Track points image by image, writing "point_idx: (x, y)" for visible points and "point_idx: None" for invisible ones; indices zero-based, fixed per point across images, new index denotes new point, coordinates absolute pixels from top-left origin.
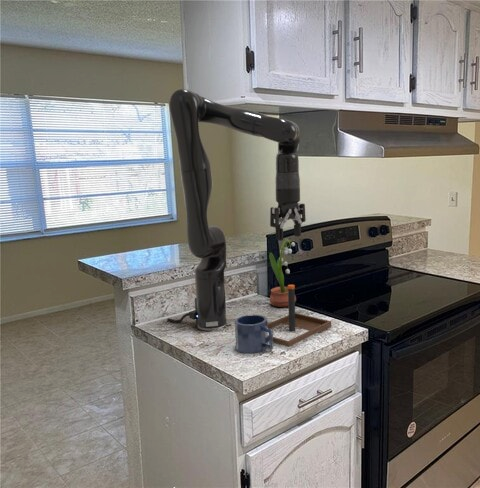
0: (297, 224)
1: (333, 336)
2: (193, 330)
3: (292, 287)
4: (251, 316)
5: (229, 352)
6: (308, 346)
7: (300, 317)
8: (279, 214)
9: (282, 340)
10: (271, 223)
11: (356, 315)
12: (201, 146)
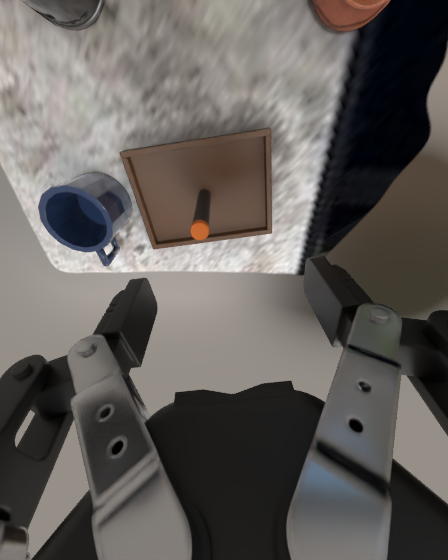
0: (342, 335)
1: (239, 257)
2: None
3: (197, 237)
4: (89, 198)
5: (60, 183)
6: (184, 257)
7: (264, 155)
8: (102, 472)
9: (149, 236)
10: (6, 394)
11: (348, 221)
12: None
